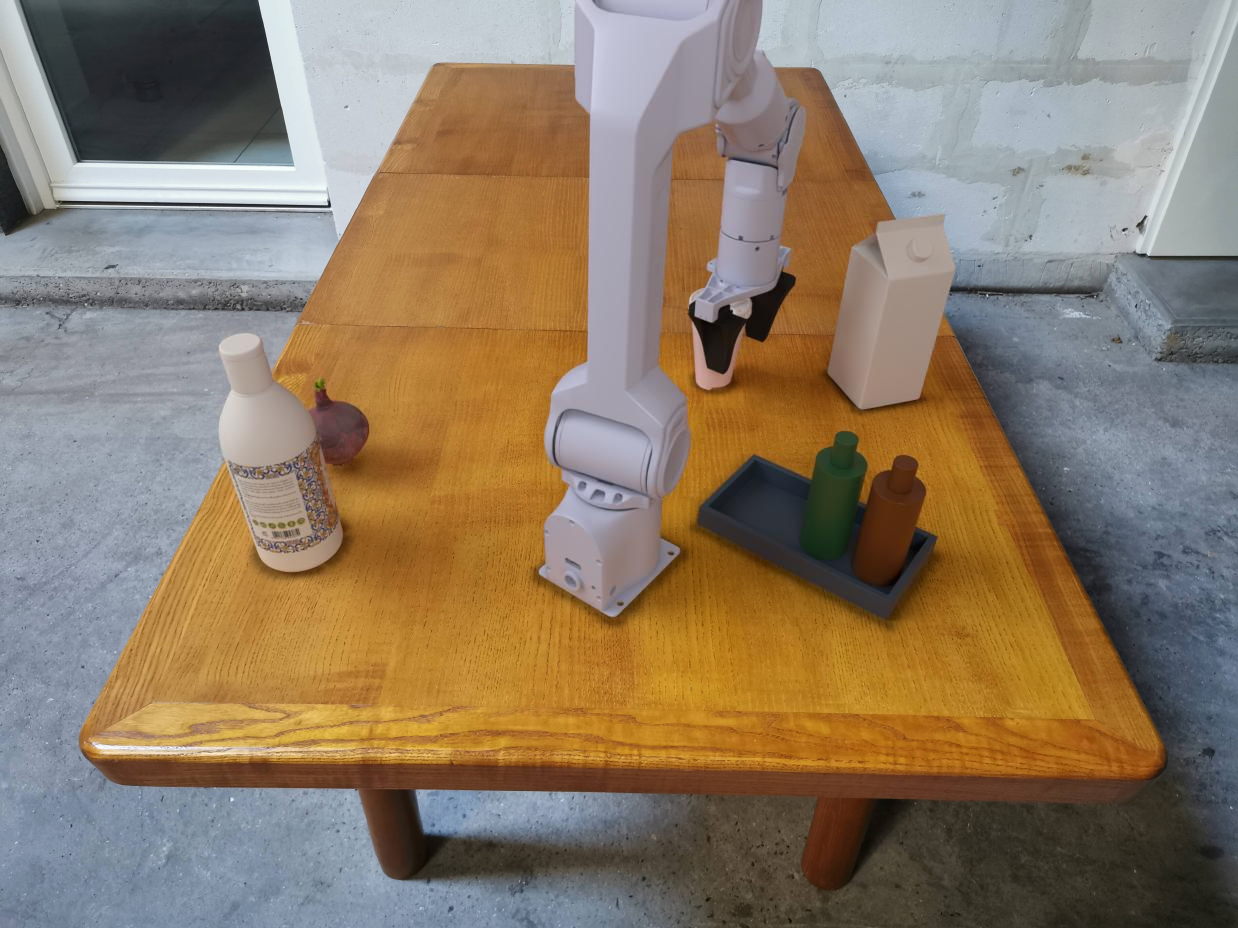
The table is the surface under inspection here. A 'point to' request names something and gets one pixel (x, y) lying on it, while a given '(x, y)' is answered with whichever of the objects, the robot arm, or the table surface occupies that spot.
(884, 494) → the brown bottle
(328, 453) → the vegetable
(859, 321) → the milk carton
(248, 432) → the bath foam
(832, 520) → the green bottle
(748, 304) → the smoothie
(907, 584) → the tray
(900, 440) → the table surface
